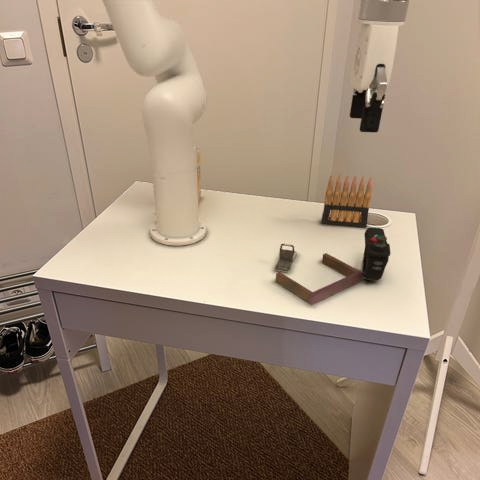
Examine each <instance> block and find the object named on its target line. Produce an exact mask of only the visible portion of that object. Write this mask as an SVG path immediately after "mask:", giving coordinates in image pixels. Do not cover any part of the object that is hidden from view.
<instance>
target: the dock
mask: <svg viewBox="0 0 480 480" xmlns="http://www.w3.org/2000/svg"><path fill="white" fill-rule="evenodd" d="M321 263H322V264H323V265H325V266H327V267H329V268H331V269H333V270H334V271H336V272H338V273H340V274H342V275H343V276H345V277H343V278H341V279H339V280H335V281H334V282H332V283H329V284H328V285H325V286H323V287H321V288H319V289H317V290H314V291H312V290H310V289H308V288H307V287H305V286H303V285H302V284H301V283H299V282H297V281H296V280H294V279H292V278H291V277H289V276H288V275H286V274H284V273H282V271H278V272H277V273H275V283H276V284H278V285H279V286H281V287H282V288H284V289H286V291H288V292H290V293H292V294H293V295H295V296H297V297H298V298H299V299H301V300H303V301H304V302H306V303H308V304H309V305H310V306H313V305H315V304H317V303H320V302H322V301H323V300H325V299H328V298H330V297H332V296H334V295H337V294H339V293H341V292H343V291H345V290H347V289H349V288H351V287H353V286H355V285H357V284H360V283H361V282H363V278H364V277H363V272H362V271H361V270H359V269H358V268H355V267H353V266H352V265H349V264H348V263H346V262H344V261H342V260H340V259H339V258H336V257H334V256H332V255H331V254H328V253H327V252H326V253H323V254H322V258H321Z"/></svg>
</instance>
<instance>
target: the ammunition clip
mask: <svg viewBox="0 0 480 480" xmlns="http://www.w3.org/2000/svg"><path fill="white" fill-rule="evenodd" d="M365 183H366V181H365V177H364V176H361V179H360V182H359V184H358V180H357V176H356V175H355V176H354V177H353V179H352V182H351V185H350V177H349V175H346V177H345V179H344V182H343V187H342V176H341V174H339V175H338V176H337V179H336V182H335V187H334V176H333V174H331V175H330V176H329V179H328V182H327V187H326V191H325V197H324V204H323V211H322V215H321V223H320V224H321V225H322V226H324V225H325V226H335V227H346V228H358V229H367V225H368V218H369V212H370V211H369V210H370V205H371V200H372V190H373V189H372V188H373V177H370V178H369V179H368V181H367V185H366V189H365ZM357 184H358V189H357ZM349 187H350V189H349ZM341 189H342V191H341ZM349 190H350V191H349Z"/></svg>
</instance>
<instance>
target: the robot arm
mask: <svg viewBox="0 0 480 480" xmlns="http://www.w3.org/2000/svg"><path fill="white" fill-rule="evenodd" d="M102 3H103V6H104V8H105V10H106V13H107V16H108V19H109V21H110V23H111V26H112V28H113V31H114V33H115V35H116V37H117V41H118V43H119V45H120V48H121V50H122V53H123V55H124V57H125V59H126V62H127V64H128V66H129V67H130V68H131V70H132V71H133V72H134V73H136V74H137V75H139V76H141V77H145V78H151V77H154V79H155V81H156V83H157V84H155V85H154V86H153V87H152V88H151V89H150V90H148V92H147V94H146V95H145V97H144V100H143V102H142V111H141V112H142V121H143V126H144V129H145V133H146V138H147V143H148V147H149V148H148V150H149V157H150V158H149V159H150V168H151V175H152V176H151V178H152V188H153V190H152V191H153V201H154V209H152V214H153V215H154V216H155V221H156V223H154V224H153V225H152V226H151V228H150V237H151V239H152V240H154V241H155V242H157V243H159V244H161V245H166V246H177V247H178V246H187V245H188V246H189V245H192V244H195V243H198V242H199V241H201V240H203V239H204V238H205V237H206V236H207V235H206V234H207V228H206V226H205V224H203V223H202V222H201V221H200V218H199V217H200V215H199V200H198V184H197V159H196V148H197V147H196V141H195V137H194V131H193V125H194V124H195V123H196V122H197V121H198V120H199V119H201V117H202V116H203V115H204V113H205V111H206V108H207V101H208V99H207V92H206V88H205V84H204V82H203V79H202V76H201V73H200V70H199V67H198V64H197V62H196V58H195V55H194V53H193V50H192V48H191V45H190V42H189V39H188V37H187V35H186V33H185V31H184V29H183V28H182V26H181V25H180V24H179V23H178V22H177V21H176V20H175V19H173V18H171V17H170V16H167V15H164V14H160V13H159V11H158V8H157V5H156V3H155V0H102ZM409 5H410V0H360V3H359V8H358V9H359V10H358V15H357V21H356V22H357V23H358V24H360V28H359V32H358V36H357V40H356V41H357V42H356V44H355V51H354V56H353V61H352V65H351V66H352V67H351V71H350V76H349V83H350V85H351V86H352V87H353V94H352V97H351V105H350V110H349V117H350V119H360V125H359V131H360V133H378V132H379V130H380V125H381V119H382V114H383V109H384V105H385V99H386V92H388V89H389V86H390V83H391V82H390V81H391V77H392V73H393V66H394V61H395V55H396V49H397V42H398V36H399V28H400V27H401V26H405V25H406V19H407V14H408V9H409Z"/></svg>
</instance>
